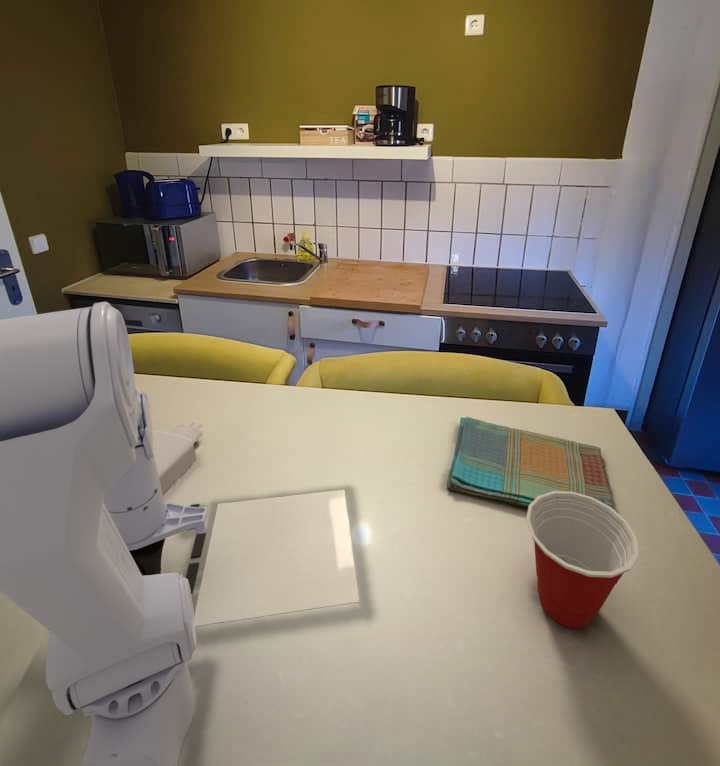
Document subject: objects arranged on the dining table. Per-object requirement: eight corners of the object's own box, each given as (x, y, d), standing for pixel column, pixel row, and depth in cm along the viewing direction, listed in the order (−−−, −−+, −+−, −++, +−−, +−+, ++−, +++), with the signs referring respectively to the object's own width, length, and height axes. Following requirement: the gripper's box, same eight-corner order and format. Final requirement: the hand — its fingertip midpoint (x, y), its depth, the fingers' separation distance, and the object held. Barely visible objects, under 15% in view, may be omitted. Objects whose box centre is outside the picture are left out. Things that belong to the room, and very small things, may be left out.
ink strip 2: (200, 555, 55) (190, 556, 54) (201, 562, 55) (191, 563, 55) (206, 529, 58) (197, 530, 58) (207, 536, 58) (198, 537, 58)
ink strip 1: (185, 533, 59) (194, 532, 59) (184, 527, 58) (193, 526, 59) (192, 510, 62) (200, 509, 63) (190, 504, 62) (199, 503, 62)
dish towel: (459, 423, 81) (460, 411, 80) (597, 451, 73) (600, 439, 73) (445, 491, 66) (446, 478, 65) (618, 535, 58) (622, 521, 57)
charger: (220, 440, 77) (157, 505, 63) (178, 429, 79) (110, 489, 66) (217, 418, 75) (151, 480, 62) (174, 407, 78) (103, 464, 65)
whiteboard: (366, 613, 49) (366, 607, 49) (184, 640, 46) (183, 634, 46) (348, 490, 66) (348, 485, 65) (214, 505, 63) (213, 500, 63)
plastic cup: (531, 542, 57) (544, 472, 53) (624, 594, 51) (646, 519, 47) (499, 608, 49) (512, 532, 45) (603, 680, 43) (629, 598, 39)
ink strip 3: (192, 592, 50) (181, 594, 50) (193, 599, 51) (183, 601, 50) (199, 562, 54) (189, 563, 54) (200, 568, 54) (190, 570, 54)
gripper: (207, 458, 51) (220, 540, 56) (77, 471, 49) (102, 555, 54) (194, 506, 45) (210, 595, 49) (43, 523, 43) (75, 614, 48)
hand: (152, 578), depth 51 cm, fingers closed
